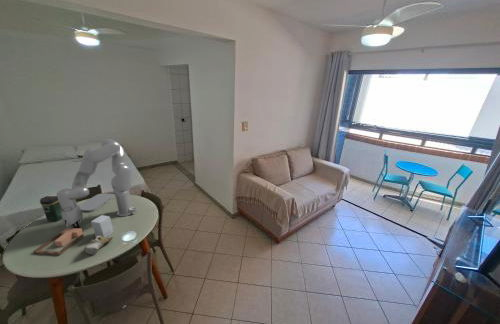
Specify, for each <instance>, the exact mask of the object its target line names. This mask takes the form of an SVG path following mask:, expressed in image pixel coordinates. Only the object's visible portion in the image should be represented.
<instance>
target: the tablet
mask: <svg viewBox="0 0 500 324" xmlns="http://www.w3.org/2000/svg"><path fill="white" fill-rule="evenodd" d="M112 197H113V198H115V194H114V193H98V194H95V195H94V196H92V197H91V198H89V199H88V200H86V201H84V202H83V203H81V204H79V205H78V206H79V207H80V209H81V211H82V212H88V213H92V212H94V211H96V210H98V209H99V208H100V206H101V207H102V206H104V205H105V204H106V203H108V202H109V201H110V200H109V199H111V198H112ZM113 198H112V199H113ZM112 199H111V200H112ZM108 200H109V201H108ZM107 201H108V202H107ZM105 202H106V203H105ZM104 203H105V204H104Z"/></svg>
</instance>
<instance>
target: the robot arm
mask: <svg viewBox="0 0 500 324" xmlns="http://www.w3.org/2000/svg"><path fill="white" fill-rule="evenodd" d="M109 158H111V172H112V173H113V174H115V176H113V177H112V178H111V181H110V184H111V187H112V190H113V194H114V198H115V202H116V205H117V206H116V207H117V209H118V211H117V212H116V215H117V216H118V217H128V216H130V215H132V214H133V213H136V212H137V211H138V210H137V209H138V208H137V207H135V206H134V205H133V203H132V202H133V201H132V198H131V194H130V190H131V187H132V170H131V168H130V167H129V165H127V163H126V162H127V161H126V159H127V158H126V152H125V149H124V148H123V146H122V145H121V144H120V143H119V142H117V141H116V140H114V139H113V138H104V139H102V141H101V146H100V147H98V148H94V147H90V148H87V149H85V151H84V152H83V156H82V159H81V162H80V165H79V168H78V170H77V172H76V174H75V176H74V178H73V181H72V184H71V188H62V189H60V190H58V191H57V192H56V197H58V200H59V203H60V206H61V208H62V212H61V215H62V219H61V220H62V223H63V225H64V226H65V225H66V228H71V227H72V228H81V225H80V224H81V220H82V219H83V217H84V214H83V211H81V209H80V207H79V205H78V201H77V200H79V199H84V198H86V197H87V196H89V194H90V190H89V188H88V187H87V183H88V181H89V178H90V176H92V175H93V174H95V172H96V169H97V166H98V164H99V163H101V162H103V161H106V160H108V159H109Z"/></svg>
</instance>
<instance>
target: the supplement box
mask: <svg viewBox="0 0 500 324" xmlns="http://www.w3.org/2000/svg"><path fill="white" fill-rule="evenodd" d="M91 227H92V228H93V231H94V235H95V237H96V236H103V237H104V239H107V238H109V236H111V235H112V234H113V233H114V227H113V223H112V220H111V217H110V216H109V215H102V214H101V215H100V216H98V217H96V218H94V219H93V220H91Z"/></svg>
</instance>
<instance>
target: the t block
mask: <svg viewBox="0 0 500 324" xmlns="http://www.w3.org/2000/svg"><path fill="white" fill-rule="evenodd" d="M83 231H84V230H83V228H81V227H80V228H73V227H72V228H71V227H66V228H65V229H63V230H62V231H61V232H60V233H61V234H62V235H61V236H60V237H59V238H57V239H56V240H54V241H53V242H54V244H55V247H64V246H66V245H67V244H69V243H70V241H72V240H73V239H74V238H77V237H79V236H80V235H81V234H83V235H84V232H83ZM68 242H69V243H68Z"/></svg>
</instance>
